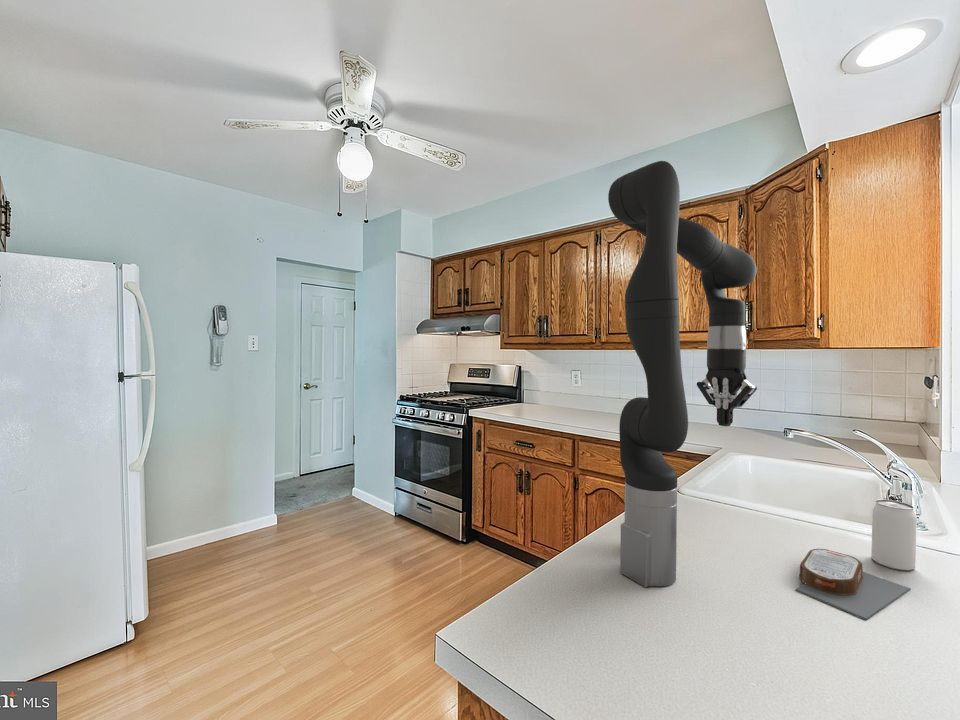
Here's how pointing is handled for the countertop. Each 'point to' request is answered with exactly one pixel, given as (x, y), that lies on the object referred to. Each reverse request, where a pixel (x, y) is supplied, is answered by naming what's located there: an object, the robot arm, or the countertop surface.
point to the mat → (861, 596)
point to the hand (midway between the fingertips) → (724, 425)
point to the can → (894, 535)
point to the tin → (831, 572)
